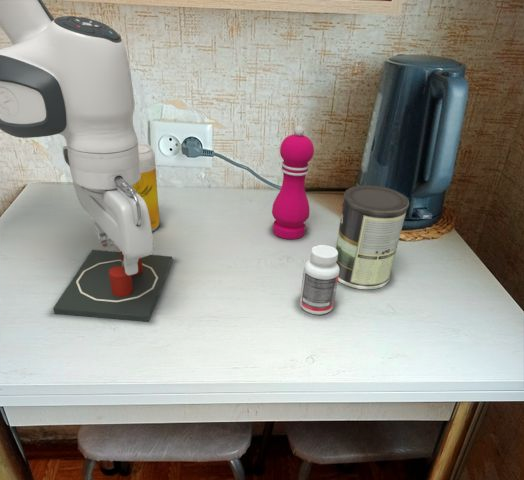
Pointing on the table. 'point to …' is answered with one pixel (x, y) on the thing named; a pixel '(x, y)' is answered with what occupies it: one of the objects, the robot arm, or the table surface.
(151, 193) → the beer can
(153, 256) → the slate board
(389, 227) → the coffee can
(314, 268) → the pill bottle
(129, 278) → the dot
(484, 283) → the table surface
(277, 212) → the pepper mill
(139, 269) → the red cylinder
